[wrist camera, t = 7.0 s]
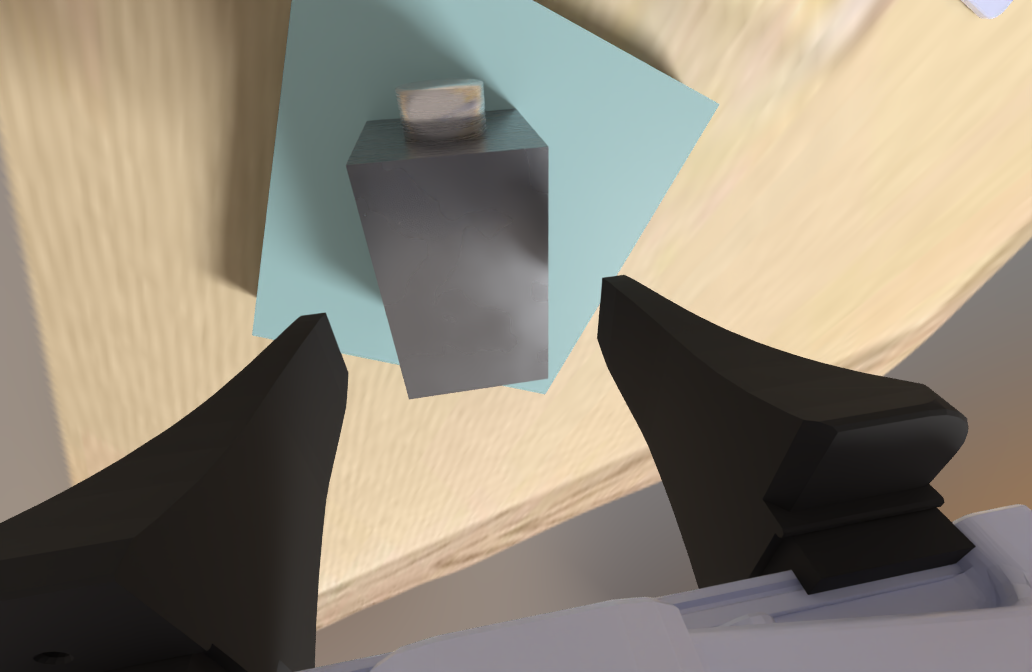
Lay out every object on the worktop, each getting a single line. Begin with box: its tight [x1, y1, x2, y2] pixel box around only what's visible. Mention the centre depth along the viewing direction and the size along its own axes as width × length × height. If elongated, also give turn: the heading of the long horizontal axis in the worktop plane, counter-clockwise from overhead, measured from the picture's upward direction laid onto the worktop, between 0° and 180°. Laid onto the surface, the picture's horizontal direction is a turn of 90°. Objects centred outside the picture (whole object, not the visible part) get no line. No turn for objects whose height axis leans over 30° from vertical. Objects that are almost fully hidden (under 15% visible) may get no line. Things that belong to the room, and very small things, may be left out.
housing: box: [346, 78, 549, 399], centre depth 15 cm, size 9×5×5 cm, turn 3°
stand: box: [252, 0, 719, 394], centre depth 18 cm, size 14×15×2 cm
